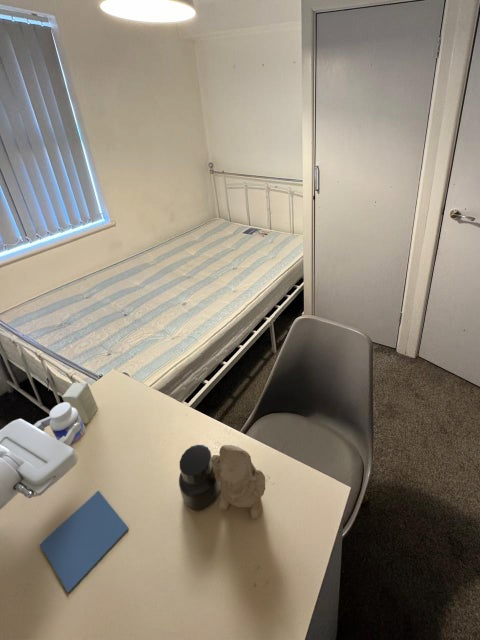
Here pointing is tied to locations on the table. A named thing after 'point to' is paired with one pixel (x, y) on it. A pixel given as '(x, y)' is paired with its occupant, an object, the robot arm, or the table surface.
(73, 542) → the mat
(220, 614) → the table surface
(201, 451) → the ink bottle
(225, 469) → the figurine
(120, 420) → the table surface
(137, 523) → the table surface
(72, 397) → the box
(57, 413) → the pill bottle
